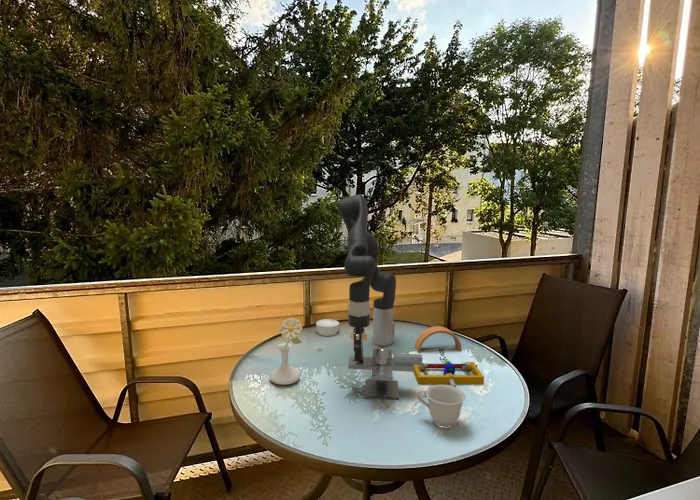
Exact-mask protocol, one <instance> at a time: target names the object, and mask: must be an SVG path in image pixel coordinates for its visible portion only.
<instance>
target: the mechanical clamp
mask: <svg viewBox="0 0 700 500" xmlns="http://www.w3.org/2000/svg"><path fill="white" fill-rule="evenodd" d="M426 369H428V370H429V369H440V370H441V369H443V373H442V374H441V375H440V374H439V375H438V374H437V375H436V374H434V375H433V374H432V375H431V374H428V375H427V374H425V375H424V374H423V375H422V373H421V371H426ZM456 369H457V370H459V369H461V370H462V371H466V372H471V374H472V375H471V374H470V375H469V374H462V375H459V374H458V375H457V374H456V375H455V373H456ZM413 374H415V375H414V378H415V379H416V382H418V383H417V385H450V386H453V387H456V388H457V385H484V384H485V383H484V382H485V377H484V375H483V374H482V372H481V371H480V369H479V368H478V364H476V363H475V362H474V361H465V362H462V363H452V362H451V361H450V360H446V361H445V362H444V363H428V362H422V365H414V372H413Z"/></svg>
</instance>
